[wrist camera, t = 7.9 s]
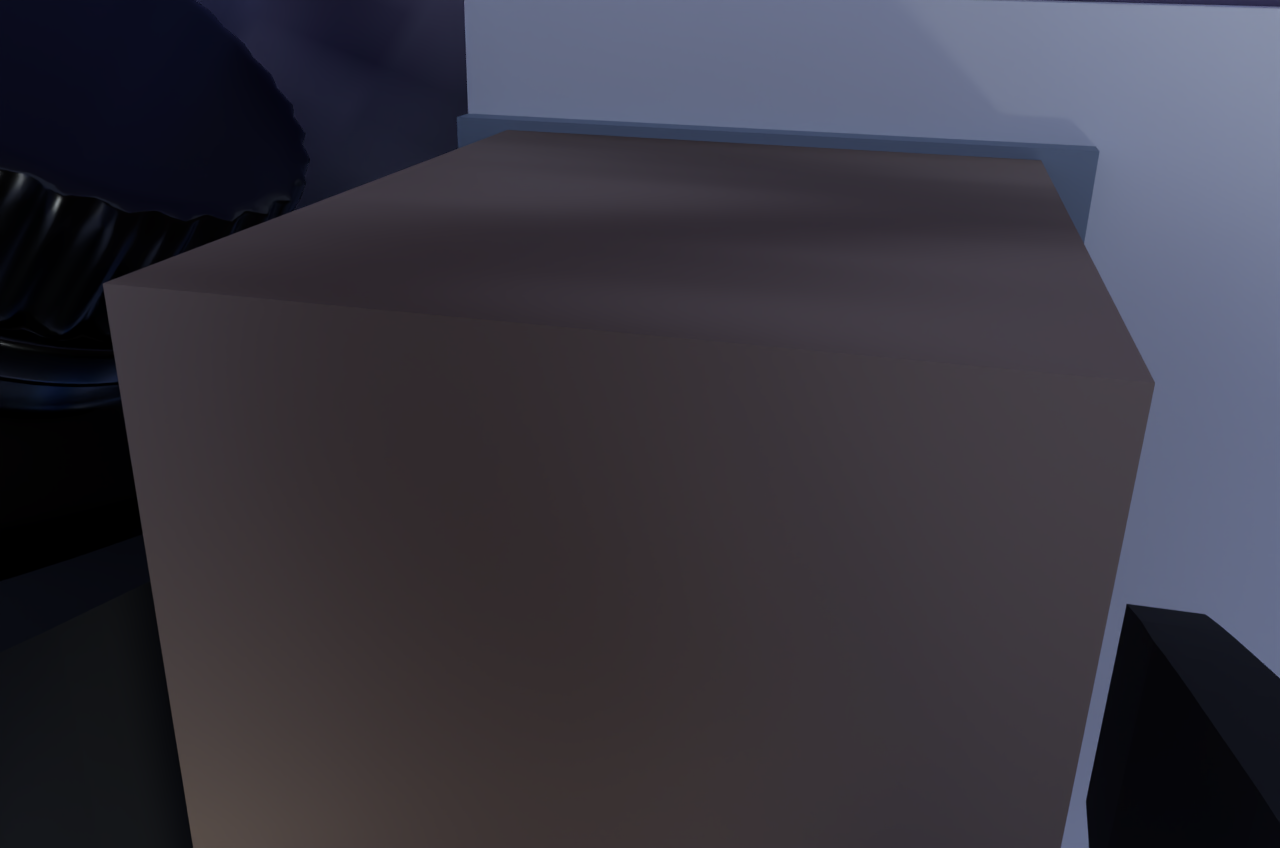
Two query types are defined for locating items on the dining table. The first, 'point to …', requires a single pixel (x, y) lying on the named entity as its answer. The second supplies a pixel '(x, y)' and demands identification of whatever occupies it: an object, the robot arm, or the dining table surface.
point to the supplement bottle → (109, 231)
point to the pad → (1062, 162)
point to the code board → (1028, 113)
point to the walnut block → (635, 501)
